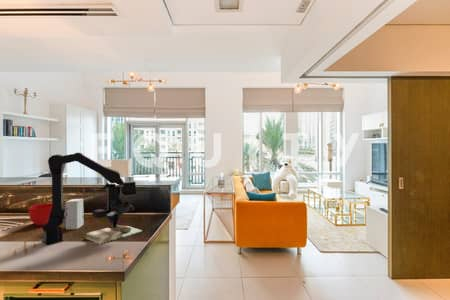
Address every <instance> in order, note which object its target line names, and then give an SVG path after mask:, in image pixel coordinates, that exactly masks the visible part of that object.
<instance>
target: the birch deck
mask: <svg viewBox="0 0 450 300" xmlns="http://www.w3.org/2000/svg"><path fill="white" fill-rule="evenodd" d="M111 228H112V227H111ZM111 228H109V227H105V228H101V229H98V230H93V231H90V232H87V233H85V239H86V240H88V241H90V242H92V241H93V243H95V244H97V243H98V245H102V244H101V243H103V244H105V243H104V242H106V243H108V241H109V242H112V241H115V240H119V239H121V238H123V237H122V232H119V231H116V230H113V229H111ZM118 238H119V239H118ZM111 240H112V241H111Z"/></svg>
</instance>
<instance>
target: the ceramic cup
mask: <svg viewBox="0 0 450 300" xmlns="http://www.w3.org/2000/svg"><path fill="white" fill-rule="evenodd" d="M51 208H52V203H41V204H34V205H31V206H29V207H28V214H29V219H30V221H31V222H32V223H33V224H34V225H35V226H38V227H39V226H44V225H45V224H46V223H47V222H48V220H49V215H50V211H51Z"/></svg>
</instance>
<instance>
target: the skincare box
mask: <svg viewBox="0 0 450 300" xmlns="http://www.w3.org/2000/svg"><path fill="white" fill-rule="evenodd" d="M65 207H68V209H67V214H68V216H67V217H66V219H65V230H78V229H79V228H81V227H82V226H84V224H85V223H84V221H85V220H84V198H74V199H73V198H72V199H69V200H67V201H65Z"/></svg>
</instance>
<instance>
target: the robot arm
mask: <svg viewBox="0 0 450 300" xmlns="http://www.w3.org/2000/svg"><path fill="white" fill-rule="evenodd" d="M73 162H78V163H79V164H81V165H83V166H84V167H87V168H88V169H90V170H92V171H93V172H95V173H97V174H99V175H101V176H102V177H103V178H104V179H105V180H106V181H108V182H106V183H105V185H103V189H107V198H105V199H106V200H105V201H106V202H107V206H106V207H105V209H102V208H100V209H95V210H93V211H92V214H91V215H92V218H97V219H101V218H107V219H108V221H109V223H110V225H111V228H115V227H116V225H118V221H119V219H120V217H122V215H124V214H126V213H127V212H132V211H133V212H134V210H135V209H134V208H135V207H134V206H133V205H132V204H131V202H130V201H126V202H125V201H124V202H123V199H122V198H121V195H123V196H124V197H129V196H130V197H131V196H137V187H136V185H137V184H136V181H128V182H126V181H124V180H123V179H122V178H121V173H120V172H119V171H118V170H116V169H112V168H110V167H105V166H104V165H102V164H101V163H98V162H96V161H95V160H93V159H91V158H89V157H88V156H86V155H85V154H83V153H82V152H75V153H72V154H65V155H62V154H53V155H50V157H48V160H47V164H48V168H49V170H50V171H49V172H50V174H51V204H52V208H51V211H50V215H49V220H48V222H47V223H46V224H45V225H42V227H41V228H42V231H43V237H42V238H43V240H41V243H42V244H44V245H46V246H49V245H54V244H56V243H60V242H63V241H64V239H63V234H64V233H63V229H62V226H61V225H62V224H63V223H64V222H65V221H66V217H67V216H68V214H67V209H68V207H66V206H64V193H63V192H64V189H63V188H64V187H63V185H64V181H63V180H64V179H63V178H64V177H63V176H64V175H63V174H64V171H65V168H66V164H69V163H73Z"/></svg>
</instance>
